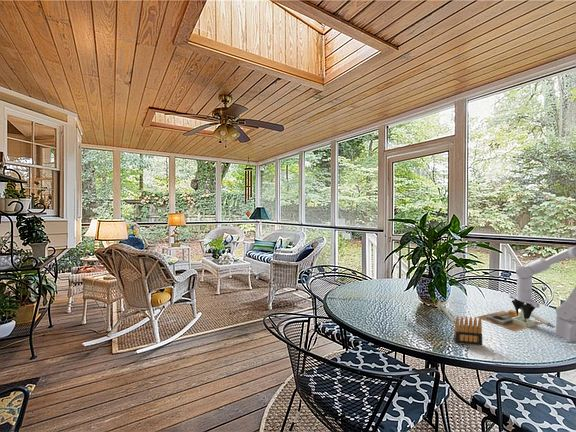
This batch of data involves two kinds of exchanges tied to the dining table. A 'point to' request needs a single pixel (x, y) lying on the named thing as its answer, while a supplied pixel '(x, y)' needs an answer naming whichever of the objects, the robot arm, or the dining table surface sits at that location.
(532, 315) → the adjustable wrench
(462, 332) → the ammunition clip
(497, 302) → the dining table surface
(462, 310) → the dining table surface
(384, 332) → the dining table surface
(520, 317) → the peg
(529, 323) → the tray
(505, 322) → the holder
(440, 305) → the caliper
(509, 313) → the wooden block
